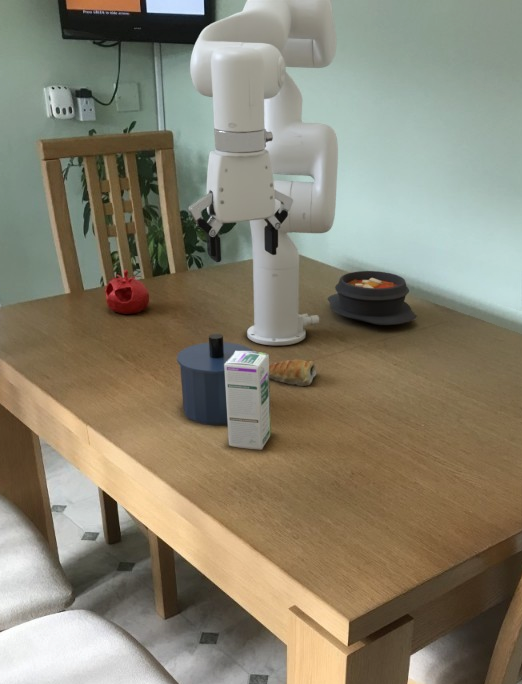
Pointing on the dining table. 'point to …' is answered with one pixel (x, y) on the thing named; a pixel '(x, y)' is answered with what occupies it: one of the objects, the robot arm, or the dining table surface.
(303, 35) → the robot arm
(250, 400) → the syrup box
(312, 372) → the pastry
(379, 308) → the casserole
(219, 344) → the lid
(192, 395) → the pot
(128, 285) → the pomegranate
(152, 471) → the dining table surface
